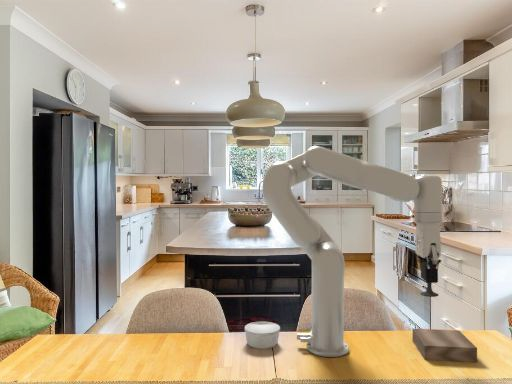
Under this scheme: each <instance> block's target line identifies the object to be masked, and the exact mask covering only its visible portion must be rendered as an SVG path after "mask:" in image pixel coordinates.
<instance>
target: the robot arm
mask: <svg viewBox="0 0 512 384" xmlns="http://www.w3.org/2000/svg"><path fill="white" fill-rule="evenodd" d="M317 176H318V177H322V178H325V179H327V180H330V181H334V182H336V183H340V184H342V185H344V186H347V187H351V188H354V189H360V190H361V189H362V190H366V191H370V192H373V193H375V194H380V195H382V196H385V197H389V198H390V199H391V200H393V201H396V202H404V203H408V202H409V203H410V202H412V201H414V202H413V204H414V205H413V208H414V209H413V212H414V215H413V218H414V221H413V222H414V224H416V226H415V227H416V228H415V253H416V255H417V256H419V255H420V257H422V258H425V257H426V262H427V263H426V264H427V268H426V281H425V282H426V284H427V283H432V284H433V283H434V284H437V283H438V282H439V266H438V263H437V262H438V260H439V258H440V257H441V254H442V253H441V251H442V246H441V245H442V244H441V229H440V225H441V224H443V190H442V189H443V185H442V184H443V183H442V182H443V181H442V178H441V177H440V176H438V175H420V176H419V175H418V176H416V177H415V176H414V177H413V176H412V175H409V174H407V173H404V172H401V171H397V170H396V169H395V170H394V169H391V168H389V167H385V166H381V165H378V164H375V163H371V162H369V161H367V160H364V159H363V160H362V159H360V158H357V157H353V156H351V155H347V154H344V153H341V152H339V151H335V150H332V149H331V148H330V149H329V148H326V147H323V146H319V145H313V146H311V147H309V148H307V150H306V151H305V152H303V153H301V154H298V155H297V156H295V157H292V158H290V159H288V160H285V161H284V160H283V161H276V162H274V163H272V164H271V165H270V166H269V167H268V169H267V171H266V172H265V175H264V178H263V181H262V196H263V199H264V202H265V204H266V205H267V207H268V209H269V211H270V212H271V214H272V215H273V216H274V217H275V219H276V220H277V221H278V222H279V224H280V225H281V227H282V228H283V229H284V231H286V233H287V234H288V235H289V237H290V238H291V240H292V242H293V243H294V244H296V245H297V246H298V247H300V248H301V249H302V250H303V251H304V253H305V254H306V255H307V256H308V258H309V259H310V260H311V329H310V332H307V333H298V332H297V333H296V340H297V341H300V343H306V350H307V351H308V352H310V353H311V354H313V355H316V356H319V357H326V358H328V357H329V358H336V357H337V358H338V357H342V356H344V355H346V354H348V353H349V352H350V347H349V345H348V343H346V342H345V340H344V339H345V338H344V336H345V335H344V330H345V329H344V328H345V327H344V325H345V324H344V323H345V318H344V316H345V314H344V313H345V312H344V310H345V308H344V307H345V305H344V304H345V303H344V301H345V296H344V295H345V294H344V292H345V290H344V289H345V287H344V286H345V270H346V266H345V265H346V261H345V257H344V253H343V252H342V250H341V249H340V247H339V245H338V244H336V242H335V241H334V240H333V238H332V237H331V236H330V234H329V233H328V232H327V231H326V230H325V229H324V227H323V226H322V225H321V223H320V222H319V221H318V220H317V219H316V217H314V216H312V215H311V214H310V213H308V211H306V209H305V208H304V207H303V205H302V204H301V202H300V201H299V200H298V199H297V198H296V196H295V195H294V193H293V191H292V187H295V186H297V185H298V184H301V183H303V182H306V181H308V180H310V179H312V178H315V177H317ZM428 256H432V258H428ZM429 260H430V263H429ZM420 278H421V279H423V278H422V275H421V274H420Z"/></svg>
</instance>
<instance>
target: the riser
mask: <svg viewBox="0 0 512 384" xmlns="http://www.w3.org/2000/svg"><path fill="white" fill-rule="evenodd" d="M411 341H412V343H413V344H414V345H415V347H416V349H417V350H418V352H419V353H420V355H421V356H422V358H423V359H424V360H427V361H429V360H430V361H448V362H466V363H467V362H468V363H478V347H477V346H476V345H474V344H473V343H472V342H471V341H470V340H469V339H468V338H467V337H466V336H465V335H464V334H463V332H461V330H454V329H434V328H433V329H432V328H412V340H411Z"/></svg>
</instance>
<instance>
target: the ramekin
mask: <svg viewBox="0 0 512 384" xmlns="http://www.w3.org/2000/svg"><path fill="white" fill-rule="evenodd" d="M244 332H245V333H244V334H245V339H246V344H247V345H248V346H249V347H250V348H254V349H259V350H266V349H268V350H269V349H271V348H274V347H276V346H277V344H278V342H279V337H280V332H281V326H280V325H279V324H277V323H274V322H270V321H255V322H250V323H247V324H246V325H245V326H244Z"/></svg>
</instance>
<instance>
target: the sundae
mask: <svg viewBox="0 0 512 384" xmlns="http://www.w3.org/2000/svg"><path fill="white" fill-rule="evenodd" d="M428 258H432V256H428ZM416 261H417V262H418V263H419V269H420V276H421V275H422V278H421V279H422V280H423V281H424V282H426V268H427V264H426V263H427V262H426V257H425V258H422V257H420V255H417V258H416ZM441 262H442V260H441V259H439V258H438V262H437V263H438V267H439V266H440V264H441ZM429 263H430V260H429ZM432 284H433V283H427V282H426V286H427V288H426V290H425V291H422V292H420V295H421V296H424V297H429V298H436V297H438V296H439V294H438V293H437V292H435V291H433V287H432Z"/></svg>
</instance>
